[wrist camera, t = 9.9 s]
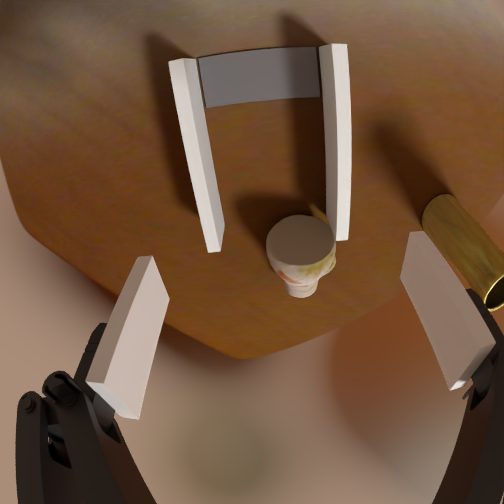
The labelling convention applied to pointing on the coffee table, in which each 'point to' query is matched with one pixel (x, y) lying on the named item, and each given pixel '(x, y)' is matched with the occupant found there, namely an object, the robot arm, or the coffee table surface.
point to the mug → (301, 252)
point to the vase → (467, 248)
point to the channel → (258, 89)
